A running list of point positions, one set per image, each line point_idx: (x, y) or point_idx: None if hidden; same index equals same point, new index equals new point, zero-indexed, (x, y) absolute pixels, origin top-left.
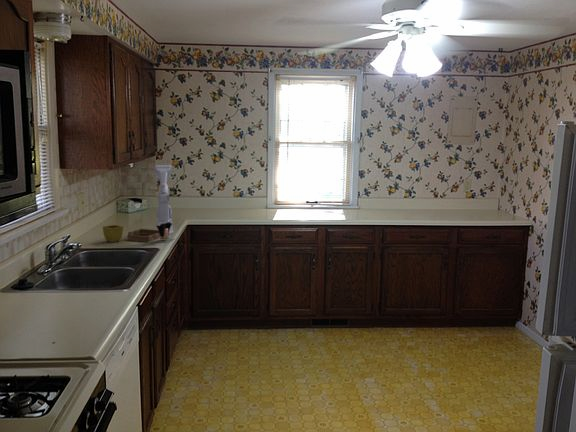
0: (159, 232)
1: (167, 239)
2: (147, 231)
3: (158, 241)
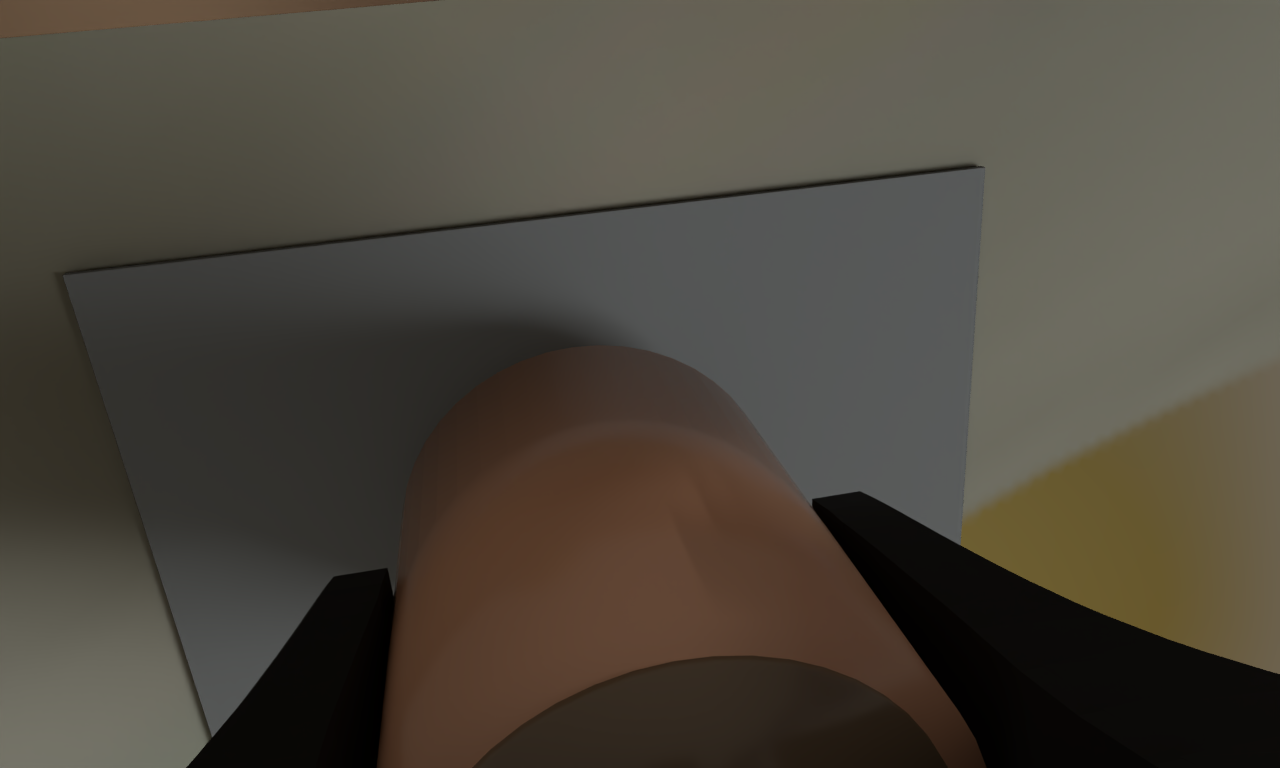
0: (241, 717)
1: None
2: None
3: (260, 421)
